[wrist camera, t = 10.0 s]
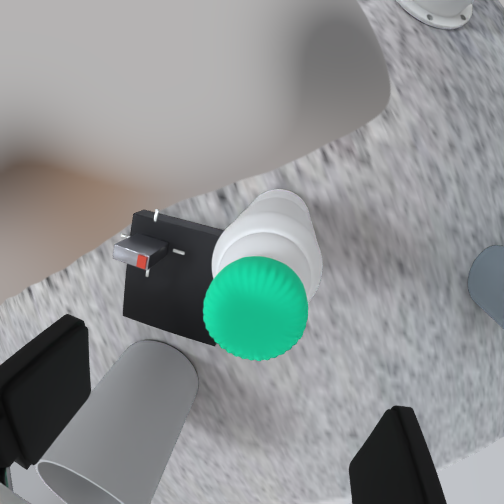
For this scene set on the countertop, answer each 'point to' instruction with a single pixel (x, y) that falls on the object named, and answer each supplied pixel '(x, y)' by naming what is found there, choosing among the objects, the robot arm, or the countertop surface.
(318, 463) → the countertop surface
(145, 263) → the knob
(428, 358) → the countertop surface
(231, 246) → the water bottle
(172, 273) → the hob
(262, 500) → the countertop surface
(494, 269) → the spray bottle
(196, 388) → the cylinder vase
